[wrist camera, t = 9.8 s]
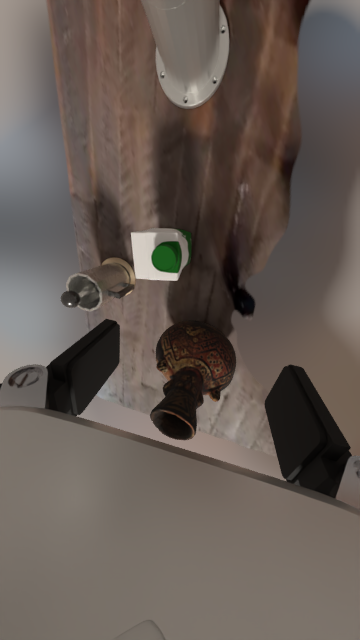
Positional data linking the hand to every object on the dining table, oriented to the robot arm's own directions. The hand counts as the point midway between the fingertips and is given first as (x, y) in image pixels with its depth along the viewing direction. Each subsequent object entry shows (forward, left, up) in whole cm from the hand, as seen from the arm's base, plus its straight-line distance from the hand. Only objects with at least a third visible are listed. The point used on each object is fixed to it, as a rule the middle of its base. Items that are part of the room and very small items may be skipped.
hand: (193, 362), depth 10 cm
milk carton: (-1, -10, -40) cm, 42 cm away
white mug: (+10, -25, -40) cm, 48 cm away
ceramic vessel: (+23, +1, -40) cm, 47 cm away
